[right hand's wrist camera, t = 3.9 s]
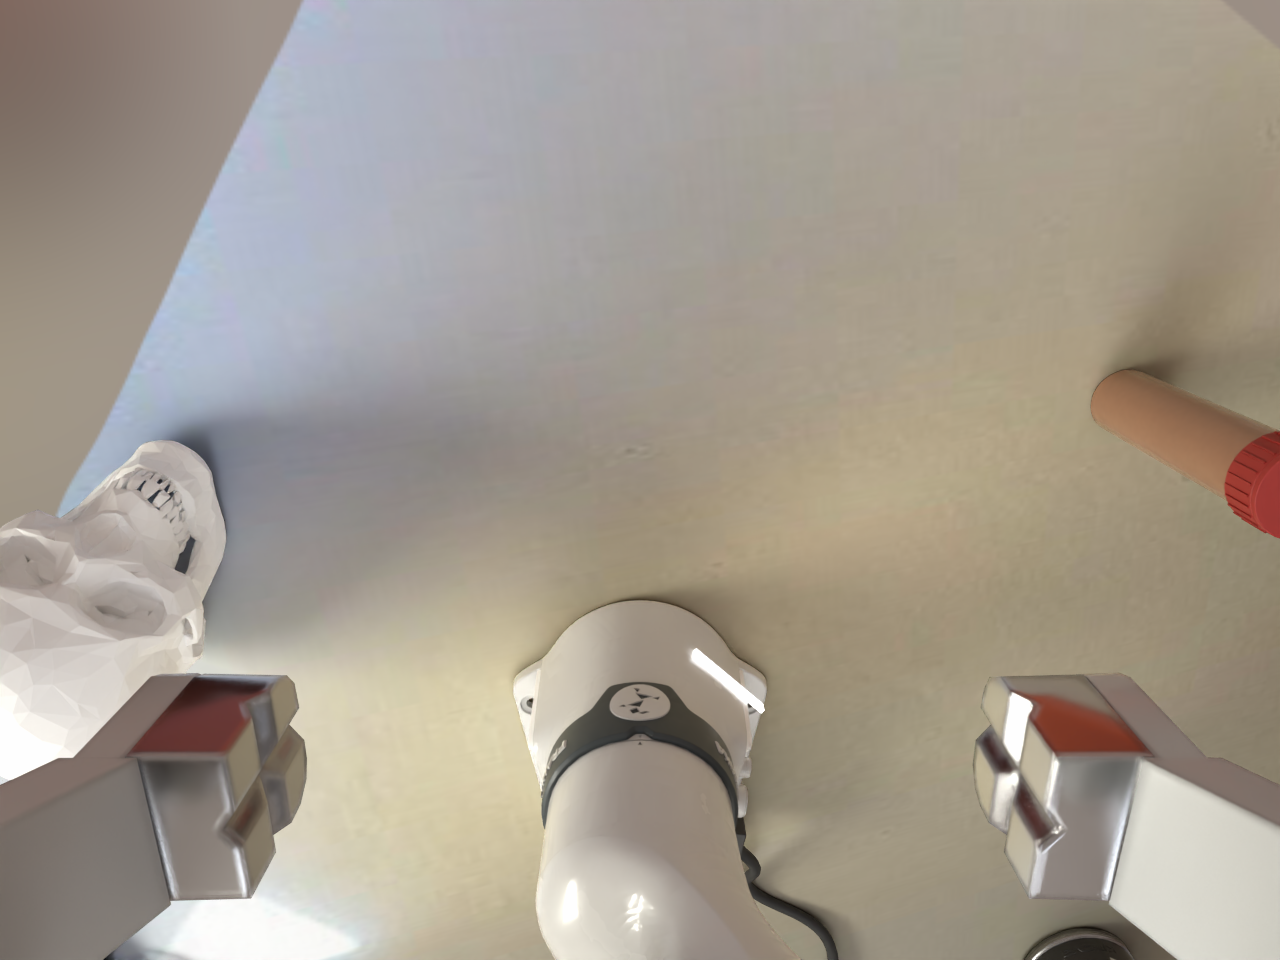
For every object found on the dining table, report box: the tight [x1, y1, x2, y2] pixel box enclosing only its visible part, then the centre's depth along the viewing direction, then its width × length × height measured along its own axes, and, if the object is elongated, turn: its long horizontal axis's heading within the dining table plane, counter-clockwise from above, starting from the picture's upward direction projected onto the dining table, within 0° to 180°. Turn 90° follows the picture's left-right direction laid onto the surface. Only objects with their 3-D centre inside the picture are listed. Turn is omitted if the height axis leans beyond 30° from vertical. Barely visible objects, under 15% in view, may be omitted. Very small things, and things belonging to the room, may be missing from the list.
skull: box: [0, 440, 226, 780], centre depth 55 cm, size 13×22×16 cm, turn 156°
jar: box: [1091, 370, 1279, 501], centre depth 51 cm, size 4×4×17 cm
